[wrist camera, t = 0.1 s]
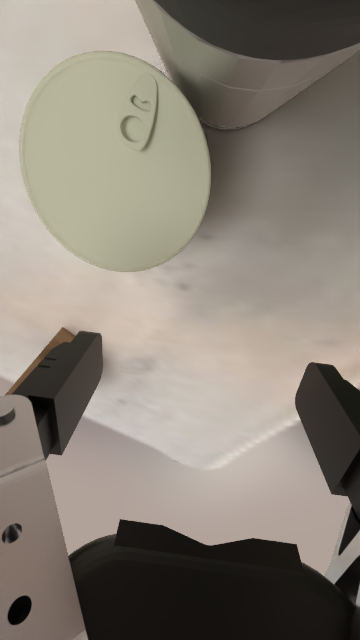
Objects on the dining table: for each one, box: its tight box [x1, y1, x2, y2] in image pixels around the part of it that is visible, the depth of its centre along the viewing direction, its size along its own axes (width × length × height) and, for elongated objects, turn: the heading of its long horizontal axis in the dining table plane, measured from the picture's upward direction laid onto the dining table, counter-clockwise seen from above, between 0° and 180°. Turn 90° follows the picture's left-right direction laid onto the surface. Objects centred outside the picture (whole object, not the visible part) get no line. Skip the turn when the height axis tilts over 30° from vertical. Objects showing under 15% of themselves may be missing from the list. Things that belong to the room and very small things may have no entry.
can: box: [19, 51, 211, 272], centre depth 18 cm, size 9×9×12 cm
